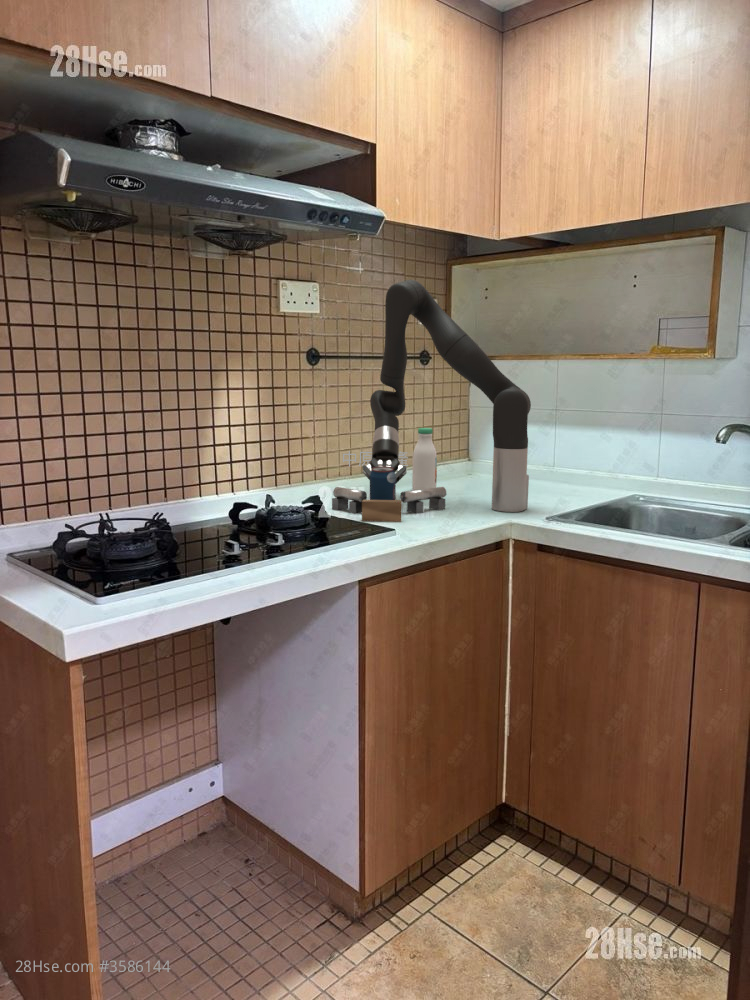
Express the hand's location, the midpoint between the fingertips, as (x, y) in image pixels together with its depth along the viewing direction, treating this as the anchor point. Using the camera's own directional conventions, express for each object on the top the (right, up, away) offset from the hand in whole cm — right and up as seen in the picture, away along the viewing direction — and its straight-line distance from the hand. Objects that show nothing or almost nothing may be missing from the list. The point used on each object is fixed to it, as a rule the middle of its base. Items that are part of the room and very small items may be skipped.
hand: (383, 495), depth 195 cm
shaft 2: (+11, -4, +1) cm, 12 cm away
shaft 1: (-9, -4, +1) cm, 10 cm away
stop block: (0, -6, -11) cm, 13 cm away
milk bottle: (+14, +2, +35) cm, 38 cm away
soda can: (0, -5, -2) cm, 5 cm away
